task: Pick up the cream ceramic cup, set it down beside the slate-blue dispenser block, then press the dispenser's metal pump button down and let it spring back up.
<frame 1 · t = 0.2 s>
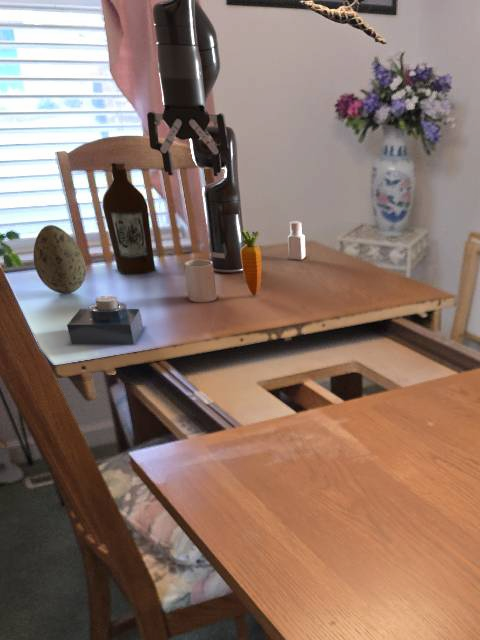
hand: (193, 175, 136), 29 cm above the table, tool pointing down, fingers open, 8 cm apart
dispenser: (108, 335, 145), on the table
cup: (202, 298, 168), on the table
pepper shaker: (297, 259, 201), on the table
pump: (106, 303, 141), point 7 cm above the table, slide at 0.1 cm
olive oil: (136, 270, 186), on the table
carrot: (254, 296, 171), on the table
decorative egg: (67, 293, 168), on the table
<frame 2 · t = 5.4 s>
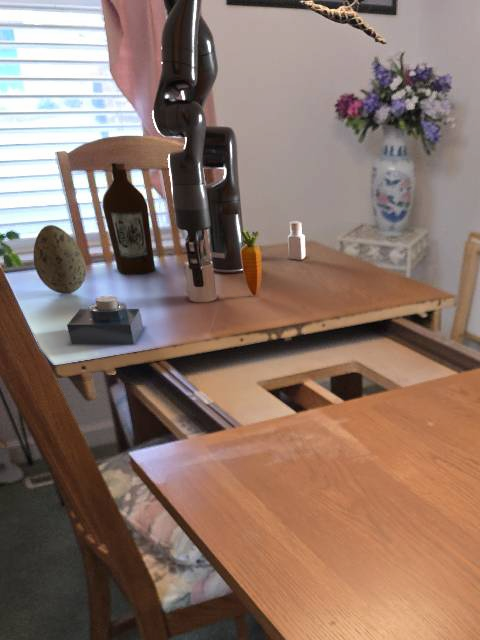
hand: (200, 282, 166), 4 cm above the table, tool pointing down, fingers closed on cup, 6 cm apart
cup: (202, 298, 168), on the table, touching gripper
everything else where it was.
when the fingers open (4 cm above the table, at t = 12.6 s): cup stays where it is, on the table.
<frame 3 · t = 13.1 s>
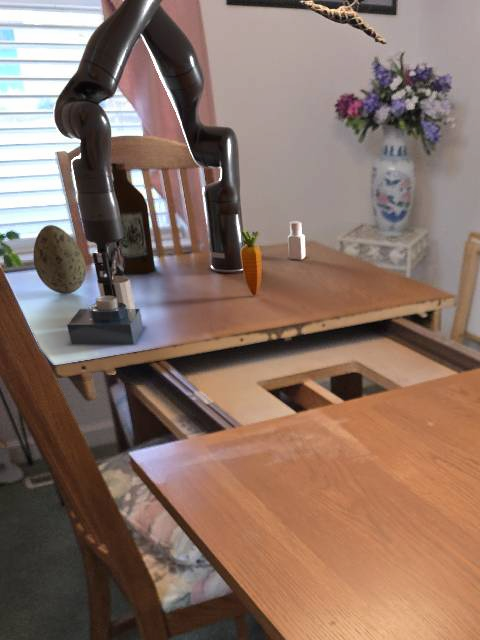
hand: (116, 296, 152), 5 cm above the table, tool pointing down, fingers open, 8 cm apart
cup: (120, 317, 155), on the table
everything else where it was.
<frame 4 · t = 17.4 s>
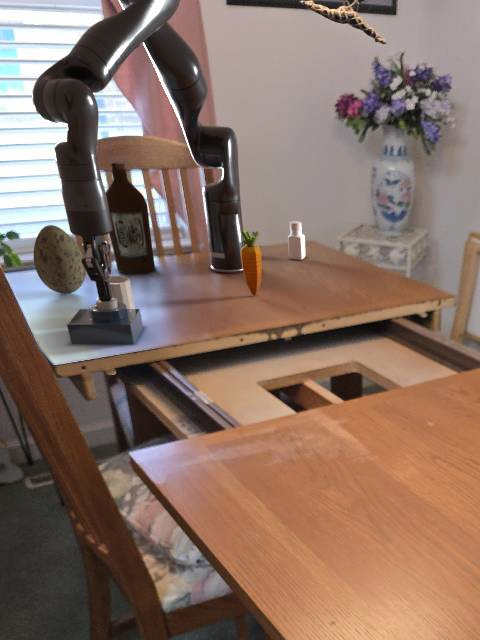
hand: (106, 299, 141), 7 cm above the table, tool pointing down, fingers closed
pump: (107, 305, 141), point 6 cm above the table, slide at -0.2 cm, touching gripper
everything else where it was.
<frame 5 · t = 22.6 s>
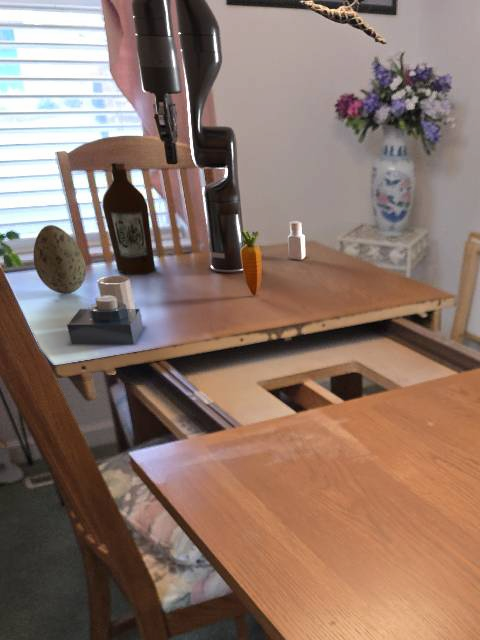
hand: (172, 163, 148), 29 cm above the table, tool pointing down, fingers closed
pump: (106, 303, 141), point 7 cm above the table, slide at 0.1 cm
everything else where it was.
at the end: cup 0.1 cm from the target spot on the table beside the dispenser, on the table; pump pushed in 1.2 cm at the most during the clip, back to where it started at the end; pump slide at 0.1 cm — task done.
